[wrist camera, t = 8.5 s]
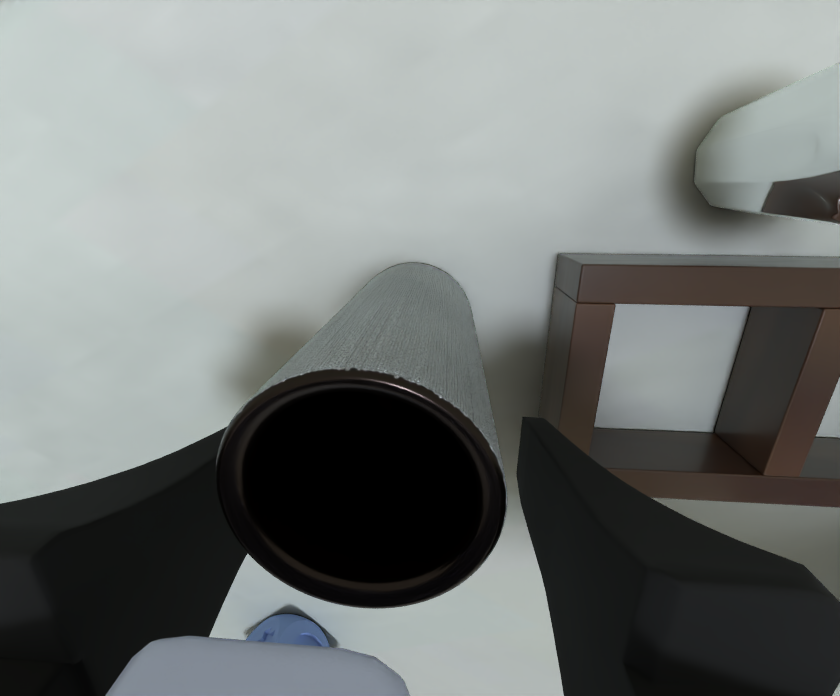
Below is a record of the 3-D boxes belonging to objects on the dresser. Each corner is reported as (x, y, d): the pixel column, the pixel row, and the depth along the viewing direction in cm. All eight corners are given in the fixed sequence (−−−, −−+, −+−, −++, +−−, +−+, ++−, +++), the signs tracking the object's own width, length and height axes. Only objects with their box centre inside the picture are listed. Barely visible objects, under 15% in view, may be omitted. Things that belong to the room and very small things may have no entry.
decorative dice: (245, 631, 23) (204, 715, 19) (291, 602, 22) (258, 685, 18) (294, 669, 24) (265, 757, 20) (341, 643, 23) (320, 731, 19)
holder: (919, 466, 16) (1009, 517, 14) (533, 449, 17) (549, 493, 15) (1027, 259, 13) (1168, 272, 11) (558, 253, 14) (582, 263, 12)
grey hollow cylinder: (387, 386, 17) (302, 636, 7) (338, 289, 15) (151, 432, 6) (488, 349, 16) (549, 576, 6) (445, 242, 15) (437, 318, 5)
